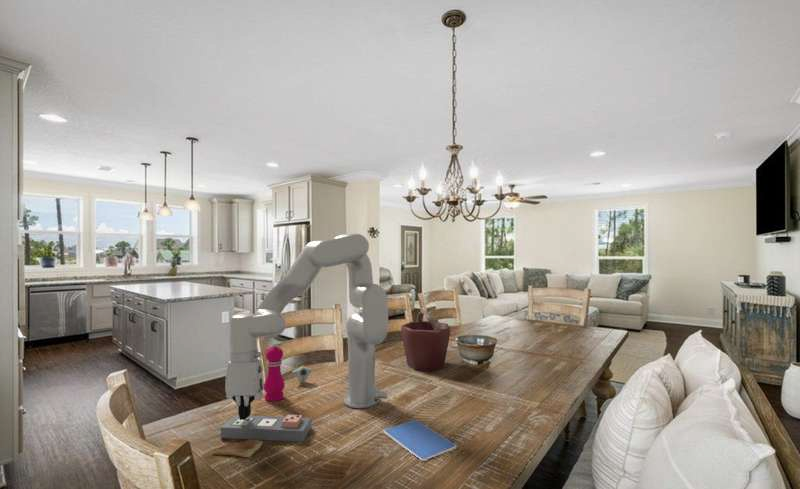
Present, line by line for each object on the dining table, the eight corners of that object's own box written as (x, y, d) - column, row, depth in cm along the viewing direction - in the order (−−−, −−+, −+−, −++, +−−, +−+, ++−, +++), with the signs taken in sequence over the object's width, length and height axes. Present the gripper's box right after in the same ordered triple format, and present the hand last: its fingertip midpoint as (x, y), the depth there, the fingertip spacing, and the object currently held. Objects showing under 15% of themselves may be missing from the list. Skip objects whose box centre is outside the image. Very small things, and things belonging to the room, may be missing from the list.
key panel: (311, 428, 114) (311, 418, 114) (302, 441, 106) (302, 430, 106) (235, 424, 116) (235, 415, 116) (220, 437, 108) (220, 427, 108)
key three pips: (302, 421, 112) (302, 414, 112) (296, 428, 108) (296, 421, 108) (287, 421, 112) (287, 413, 112) (281, 428, 108) (282, 420, 108)
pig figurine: (311, 379, 155) (311, 363, 156) (313, 383, 152) (313, 366, 152) (291, 382, 152) (291, 366, 152) (293, 386, 148) (293, 368, 148)
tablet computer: (458, 449, 103) (458, 445, 103) (422, 465, 96) (422, 459, 96) (415, 422, 119) (415, 418, 119) (381, 434, 111) (381, 429, 111)
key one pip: (277, 425, 113) (277, 418, 113) (271, 433, 108) (271, 425, 108) (263, 425, 113) (263, 417, 113) (256, 432, 109) (256, 424, 109)
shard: (211, 455, 99) (211, 449, 99) (229, 441, 107) (229, 434, 107) (248, 460, 97) (248, 453, 97) (264, 445, 105) (264, 438, 105)
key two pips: (253, 424, 113) (253, 417, 113) (246, 432, 109) (246, 424, 109) (239, 424, 114) (239, 417, 114) (231, 431, 109) (231, 423, 109)
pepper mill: (278, 403, 132) (278, 345, 132) (259, 401, 133) (260, 344, 134) (288, 395, 139) (288, 341, 139) (270, 393, 140) (270, 340, 141)
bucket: (451, 374, 162) (452, 317, 163) (400, 374, 163) (401, 316, 163) (445, 358, 187) (446, 308, 187) (401, 357, 187) (401, 307, 188)
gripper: (273, 352, 115) (274, 412, 115) (226, 352, 116) (227, 411, 116) (262, 360, 107) (263, 424, 107) (212, 359, 108) (213, 423, 108)
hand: (244, 417), depth 112 cm, fingers closed
